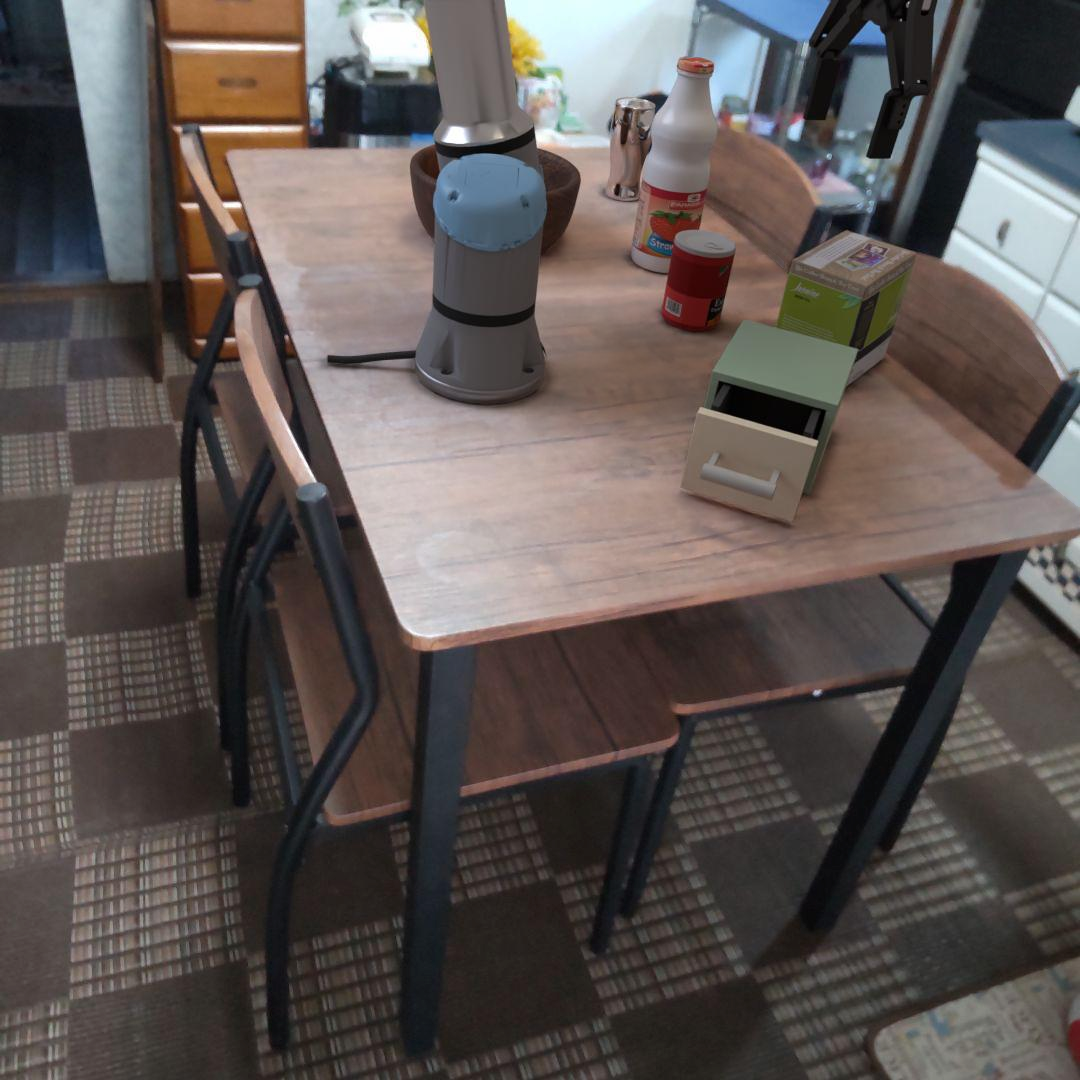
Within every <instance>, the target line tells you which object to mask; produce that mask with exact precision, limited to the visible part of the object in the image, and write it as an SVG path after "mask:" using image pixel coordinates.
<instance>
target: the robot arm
mask: <svg viewBox="0 0 1080 1080" xmlns="http://www.w3.org/2000/svg"><path fill="white" fill-rule="evenodd" d="M938 1H939V0H830V1H829V3H828V5H827V7H825V10H824V12H823V14H822V16H821V18H820V19H819V21H818V23H817V25H816V27H815V29H814V30H813V32H812V34H811V35H810V37H809V40H808V46H809V48H813V49H814V51H815V58H816V62H815V66H814V69H813V73H812V77H811V81H810V89H809V94H808V97H807V101H806V105H805V107H804V108H805V109H804V112H803V117H802V119H803V120H805V121H826V120H827V117H828V113H829V109H830V105H831V101H832V98H833V95H834V92H835V87H836V85H837V81H838V76H839V73H840V68H841V65H842V61H840V59H841V60H842V59H843V57H844V56H843V51H844V50H845V49H847V47H848V46H849V45H850V44H851V42H852V41H853V40H854V39H855V37H856V36H858V34H859V33H860V32H861V31H862V29H863V28H864V27H866V25H867V24H868V22H872V23H873V25H876V26H878V27H879V30H880V33H882V34H883V35H884V40H885V49H886V50H885V51H886V58H887V65H888V67H887V68H888V74H889V83H890V89H889V90H887V92H885V93H884V95H883V98H882V103H881V105H880V108H879V112H878V115H877V118H876V122H875V125H874V129H873V132H872V134H871V138H870V142H869V145H868V147H867V152H866V154H865V157H866V158H868V159H870V160H891V158H892V155H893V152H894V150H895V149H894V148H895V146H896V142H897V140H898V136H899V133H900V130H901V131H902V129H903V127H904V125H905V122H906V119H907V115H908V113H909V110H910V105H911V103H912V101H913V99H914V98H915V97H922V96H926V97H927V96H928V95H930V93H931V90H932V75H933V73H932V72H933V52H934V50H933V47H934V26H935V25H934V24H935V13H936V8H937V5H938ZM422 2H423V6H424V11H425V18H426V24H427V30H428V34H429V41H430V46H431V47H430V48H431V53H432V59H433V64H434V70H435V75H436V82H437V87H438V94H439V99H440V105H441V109H442V119H441V121H440V123H439V124H438V125H437V127H436V129H435V130H434V131H433V141H434V144H435V147H436V153H437V158H438V164H439V169H440V174H439V176H438V179H437V184H436V190H435V193H434V198H433V208H434V211H435V232H434V239H433V267H432V268H433V271H432V301H431V308H430V312H429V314H428V316H427V319H426V321H425V325H424V327H423V329H422V332H421V335H420V338H419V340H418V343H417V345H416V348H415V350H402V351H401V350H400V351H399V350H398V351H388V352H387V351H386V352H377V353H369V354H368V353H367V354H361V355H335V354H334V355H333V354H327V355H326V362H327V364H340V365H356V364H365V363H373V362H384V361H395V360H396V361H397V360H409V359H410V360H411V359H414V372H415V375H416V377H417V379H418V380H419V381H420V383H421V384H422V385H423V386H425V387H426V388H427V389H428V390H431V391H432V392H434V393H436V394H438V395H440V396H443V397H445V398H448V399H452V400H455V401H460V402H465V403H471V404H483V405H484V404H487V405H488V404H503V403H508V402H513V401H514V402H515V401H518V400H520V399H523V398H525V397H528V396H529V395H531V394H533V393H534V392H535V391H537V390H538V389H539V388H540V387H541V385H542V384H543V382H544V378H545V371H546V370H545V369H546V361H545V357H546V358H547V357H548V356H547V352H546V348H545V346H544V344H543V342H542V341H541V338H540V332H539V328H538V325H537V321H536V315H535V312H536V302H537V292H538V285H539V284H538V283H539V273H540V264H541V254H542V253H541V244H542V233H543V223H544V220H545V218H546V212H547V201H546V189H545V184H544V176H543V170H542V166H541V164H540V163H539V158H538V152H537V148H538V144H537V137H536V129H535V122H534V118H533V116H531V115H530V114H529V113H527V112H526V110H524V108H521V107H520V105H519V99H518V92H517V84H516V77H515V69H514V62H513V61H514V60H513V54H512V45H511V39H510V31H509V23H508V15H507V7H506V0H422ZM824 35H825V36H824ZM838 59H839V60H838Z"/></svg>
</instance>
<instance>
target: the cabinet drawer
mask: <svg viewBox="0 0 1080 1080" xmlns="http://www.w3.org/2000/svg"><path fill="white" fill-rule="evenodd" d="M822 412H823V409H820V408H816V407H813V406H809V405H805V404H802V403H798V402H794V401H791V400H787V399H784V398H780V397H776V396H773V395H769V394H766V393H762V392H758V391H755V390H751V389H748V388H744V387H740V386H737V385H733V384H730V383H726V382H725V383H724V384H723V386H722V388H721V390H720V391H719V393H718V395H717V396H716V398H715V400H714V402H713V403H712V405H711V410H709V409H706V408H704V407H702V406H700V407H699V408H698V410H697V412H696V416H695V421H694V425H693V430H692V434H691V438H690V442H689V447H688V452H687V456H686V460H685V465H684V469H683V474H682V478H681V479H682V480H681V482H680V488H681V489H684V490H687V491H690V492H694V493H697V494H700V495H703V496H707V497H710V498H713V499H716V500H720V501H723V502H726V503H730V504H733V505H735V506H739V507H741V508H745V509H748V510H752V511H756V512H758V513H761V514H765V515H769V516H771V517H775V518H778V519H781V520H785V521H787V522H791V523H793V522H794V519H795V516H796V514H797V511H798V507H799V504H800V502H801V498H802V496H803V495H802V494H803V489H804V485H805V482H806V479H807V476H808V473H809V470H810V466H811V463H812V460H813V457H814V454H815V451H816V448H817V444H818V440H814V437H815V434H816V431H817V428H818V424H819V421H820V418H821V415H822Z"/></svg>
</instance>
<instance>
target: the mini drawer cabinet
mask: <svg viewBox="0 0 1080 1080" xmlns="http://www.w3.org/2000/svg"><path fill="white" fill-rule="evenodd" d="M857 352H858V349H856V348H852V347H848V346H845V345H841V344H837V343H833V342H829V341H825V340H821V339H818V338H814V337H810V336H806V335H802V334H798V333H795V332H791V331H787V330H783V329H779V328H776V326H772V325H767V324H763V323H759V322H756V321H751V320H748V319H745V318H744V319H742V321H741V323H740V324H739V326H738V328H737V330H736V331H735V332H734V334H733V337H731V339H730V340H729V342H728V344H727V346H726V348H725V349H724V351H723V353H722V354H721V355H720V357H719V359H718V361H716V364H715V366H714V367H713V369H712V370H711V374H710V379H709V383H708V389H707V393H706V396H705V401H704V405H703V408H706V409H709V410H711V405H712V403H713V402H714V400H715V398H716V396H717V395H718V393H719V391H720V390H721V388H722V386H723V384H724V383H725V382H726V383H730V384H733V385H737V386H740V387H744V388H748V389H751V390H755V391H758V392H762V393H766V394H769V395H773V396H776V397H780V398H784V399H787V400H791V401H794V402H798V403H802V404H805V405H809V406H813V407H816V408H820V409H823V412H822V415H821V418H820V421H819V424H818V428H817V431H816V434H815V437H814V440H818V444H817V448H816V451H815V454H814V457H813V460H812V463H811V466H810V470H809V473H808V476H807V479H806V482H805V485H804V489H803V492H802V494H807V495H810V494H811V491H812V488H813V486H814V483H815V480H816V477H817V474H818V472H819V469H820V466H821V463H822V460H823V458H824V455H825V452H826V449H827V446H828V443H829V440H830V438H831V435H832V432H833V429H834V426H835V423H836V421H837V420H836V419H837V417H838V414H839V410H840V407H841V404H842V401H843V398H844V395H845V392H846V389H847V387H848V386H847V383H848V380H849V377H850V374H851V371H852V367H853V364H854V361H855V358H856V355H857Z"/></svg>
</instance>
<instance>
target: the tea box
mask: <svg viewBox="0 0 1080 1080" xmlns="http://www.w3.org/2000/svg"><path fill="white" fill-rule="evenodd" d="M917 254H918V252H916V251H913V250H910V249H908V248H904V247H900V246H897V245H894V244H891V243H888V242H885V241H881V240H879V239H876V238H875V239H874V238H872V237H869V236H866V235H864V234H863V235H862V234H859V233H857V232H854V231H850V230H849V229H846V230H844V231H842V232H840V233H839V234H836V235H834V236H833V237H831V238H829V239H828V240H826V241H824V242H822V243H821V244H819V245H817V246H815V247H813V248H812V249H810V250H808V251H806V252H804V253H802V254H801V255H799V256H798V257H794V258H793V259H792V261H791V263H790V266H789V270H788V276H787V278H786V283H785V287H784V292H783V295H782V299H781V303H780V307H779V313H778V317H777V319H776V324H775V328H779V329H783V330H787V331H791V332H795V333H798V334H802V335H806V336H810V337H814V338H818V339H821V340H825V341H829V342H833V343H837V344H841V345H845V346H848V347H852V348H856V349H858V352H857V355H856V358H855V361H854V364H853V367H852V371H851V374H850V377H849V380H848V383H847V386H846V387H848V386H849V385H850V384H851V383H853V382H854V381H855V380H857V379H858V378H859V377H861V376H863V374H865V373H866V372H867V371H869V370H870V369H871V368H873V367H874V366H875V365H877V364H878V363H879V362H881V361H882V360H883V359H884V358H885V357H886V354H887V351H888V347H889V345H890V342H891V339H892V334H893V331H894V328H895V326H896V322H897V319H898V316H899V314H900V313H899V312H900V309H901V306H902V303H903V301H904V296H905V294H906V290H907V287H908V283H909V280H910V277H911V274H912V271H913V268H914V264H915V261H916V257H917Z"/></svg>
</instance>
